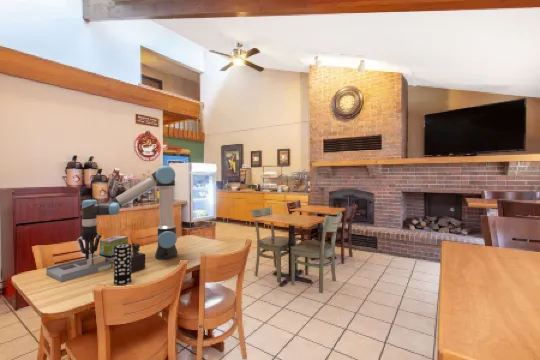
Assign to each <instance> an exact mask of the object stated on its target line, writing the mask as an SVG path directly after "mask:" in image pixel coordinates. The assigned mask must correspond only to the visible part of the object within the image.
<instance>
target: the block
mask: <svg viewBox="0 0 540 360" xmlns="http://www.w3.org/2000/svg"><path fill="white" fill-rule="evenodd" d="M103 263H105V257H102V256H98V257H94V258H92V264H90V265H92V266H95V265H99V264H103Z"/></svg>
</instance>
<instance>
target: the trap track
mask: <svg viewBox="0 0 540 360" xmlns="http://www.w3.org/2000/svg"><path fill="white" fill-rule="evenodd" d="M98 256H100V255H99V254H96V253H93V258H94V257H98ZM102 257H103V256H102ZM45 268H46V275H47V276H49V277H50V278H52V279H54V280H57V281H58V280H59V281H58V282H60V281H61V283H65V282H67V280H68V281H70V280H71V281H72V280H74V279H77V278H82V277H84V276H88V275H92V274H94V273H95V274H96V273H99V272H102V271H105V270H108V269H112V263H111V259H109V258H106V257H105V263H103V264H99V265H95V266H92V265H89V264H87V259H86V258H80V259H76V260H72V261H68V262H64V263H60V264H56V265H51V266H48V267H45Z"/></svg>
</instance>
